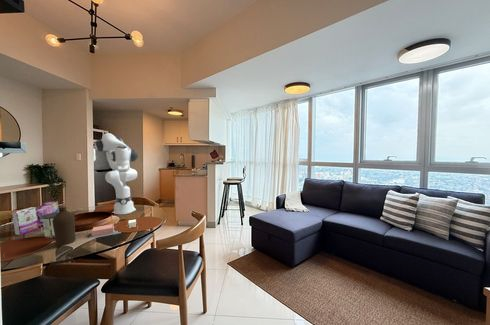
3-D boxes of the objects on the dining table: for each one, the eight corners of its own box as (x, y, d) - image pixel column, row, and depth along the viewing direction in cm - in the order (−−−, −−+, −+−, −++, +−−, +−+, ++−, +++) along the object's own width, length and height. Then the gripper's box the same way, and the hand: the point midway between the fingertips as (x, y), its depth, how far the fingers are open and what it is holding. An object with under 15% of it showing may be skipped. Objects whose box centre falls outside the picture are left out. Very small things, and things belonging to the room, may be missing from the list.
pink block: (93, 232, 144) (93, 227, 144) (114, 229, 150) (113, 223, 150) (92, 236, 138) (91, 231, 138) (113, 232, 144) (113, 227, 144)
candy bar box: (33, 228, 152) (31, 206, 151) (39, 228, 151) (36, 207, 150) (14, 235, 142) (11, 212, 140) (19, 235, 141) (17, 212, 139)
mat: (91, 232, 146) (91, 231, 146) (137, 224, 160) (136, 223, 160) (89, 239, 135) (89, 238, 135) (137, 230, 149) (137, 229, 149)
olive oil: (68, 246, 126) (65, 207, 124) (50, 247, 125) (45, 208, 123) (80, 238, 137) (77, 202, 134) (63, 239, 136) (60, 202, 133)
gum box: (48, 226, 156) (46, 208, 155) (34, 228, 153) (32, 210, 151) (59, 215, 178) (58, 200, 176) (47, 217, 174) (45, 201, 172)
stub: (128, 227, 154) (128, 220, 153) (136, 225, 156) (135, 219, 156) (128, 229, 150) (128, 222, 149) (136, 228, 152) (136, 221, 151)
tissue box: (55, 230, 149) (53, 211, 147) (68, 231, 148) (66, 212, 146) (39, 237, 139) (37, 217, 137) (53, 237, 138) (51, 217, 136)
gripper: (118, 166, 163) (120, 183, 164) (117, 169, 145) (118, 188, 147) (127, 165, 166) (129, 182, 168) (127, 168, 148) (129, 187, 150)
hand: (124, 185), depth 157 cm, fingers open, 8 cm apart
